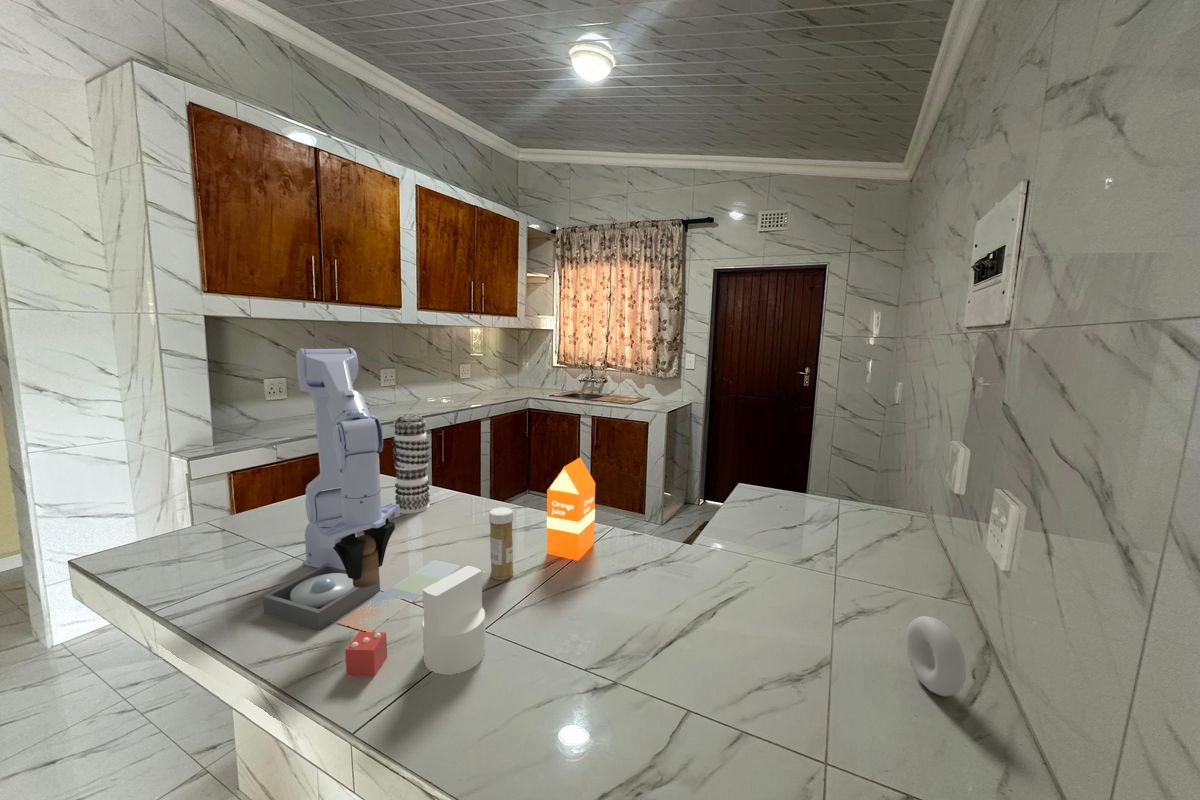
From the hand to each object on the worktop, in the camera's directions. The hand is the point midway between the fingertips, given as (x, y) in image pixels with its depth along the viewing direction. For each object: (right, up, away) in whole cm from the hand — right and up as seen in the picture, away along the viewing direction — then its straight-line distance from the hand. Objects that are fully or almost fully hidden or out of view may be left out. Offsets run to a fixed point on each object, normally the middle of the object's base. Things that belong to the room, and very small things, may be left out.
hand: (365, 571), depth 81 cm
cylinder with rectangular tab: (+17, -10, -7) cm, 21 cm away
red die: (+5, -10, -10) cm, 15 cm away
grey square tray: (-10, -7, +6) cm, 14 cm away
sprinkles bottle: (+19, -7, +16) cm, 26 cm away
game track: (+3, -7, +10) cm, 12 cm away
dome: (-10, -7, +6) cm, 14 cm away
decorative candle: (-11, -1, +51) cm, 52 cm away
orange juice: (+32, -5, +28) cm, 43 cm away
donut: (+85, -12, -12) cm, 87 cm away
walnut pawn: (0, -2, 0) cm, 2 cm away
